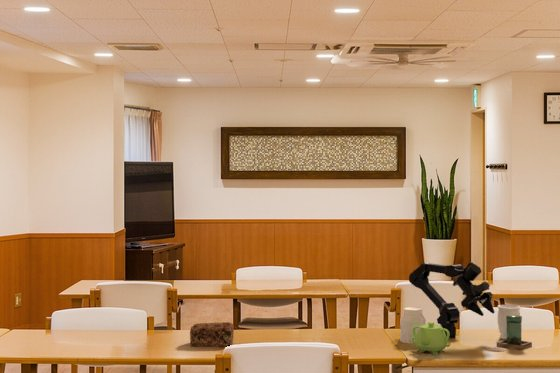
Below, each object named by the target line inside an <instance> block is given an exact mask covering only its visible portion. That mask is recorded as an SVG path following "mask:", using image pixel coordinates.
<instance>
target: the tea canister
mask: <svg viewBox="0 0 560 373" xmlns="http://www.w3.org/2000/svg"><path fill="white" fill-rule="evenodd" d="M522 322H523V317H522V316H521V315H520V316H519V315H507V316H506V339H505V340H506V343H507V344H513V345H521V341H522Z"/></svg>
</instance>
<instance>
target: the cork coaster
mask: <svg viewBox="0 0 560 373" xmlns="http://www.w3.org/2000/svg"><path fill="white" fill-rule="evenodd" d="M484 350H485V351H488V352H492V353H493V352H494V353H495V352H496V353H502V352H506V351H507V348H504V347H498V346H495V347H494V346H493V347H492V346H491V347H485V348H484Z"/></svg>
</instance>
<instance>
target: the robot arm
mask: <svg viewBox="0 0 560 373" xmlns="http://www.w3.org/2000/svg"><path fill="white" fill-rule="evenodd" d="M431 273H437V274H443V275H445V276H446V277H448V278H455V279H453V283H452V286H453V287H456V286H458V288H459V289H461V291H462V293H461V294H462V295H463V296H465V297H464V298H463V299H462V300H460V305H461V306H462V308H463V309H467V310H469V311H471V312H473V313H475V314H477V315H479V316H481V317H483V316H484V311H483V310H482V309H481V308H480V306H479V305H478V303H479V304H480V305H481V306H482V307H483V308H484V309H486V310H487V311H489V312H490V313H491V314H495V310H494V307H493V304H492V299H493V295H494V294H493V293H492V292H491V291H488V290H490V283H488V282H487V281H483V282H481V283H480V284H478V285H477V284H474V283H473V281H475V280H476V279H477V278H478V276H479V275H480V274H481V273H482V269H481V267H480V266H478V265H477V264H475V263H474V262H469V263H468V264H467V265H466V266H465V267H463V265H462V264H451V265H445V264H439V263H432V262H423V263H421V264H420V266H418V267H417V268H415V269H414V270H413V271H412V272H411V273H410V274H409V276H408V282H409V283H410V284H411V285H413V286H414V287H415V288H418V289H420V290H421V291H422V292H423V294H424V295H426V297H427V298H428V299H429V300H430V301H431V302H432V303H433V304H434V306H435V307H436V308H437V309H438V313H439V316H438V317H437V319H436V323H437V325H439V326H442V327H443V329H447V330H448V331H449V333H450V336H449V339H450V338H455V339H456V336H457V327H456V325H455V324H458V323H459V322H458V321H459V319H460V316H461V312H460V310H459V307H457V306H456V305H455V303H454V302H447V301H446V300H445V299H444V298H443V296H441V295H440V294H439V293H438V291H437V290H436V289H435V288H434V286H432V285H431V283H430V282H429V276H430V274H431ZM444 332H445V334H446V337H447V332H446V331H444Z"/></svg>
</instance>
